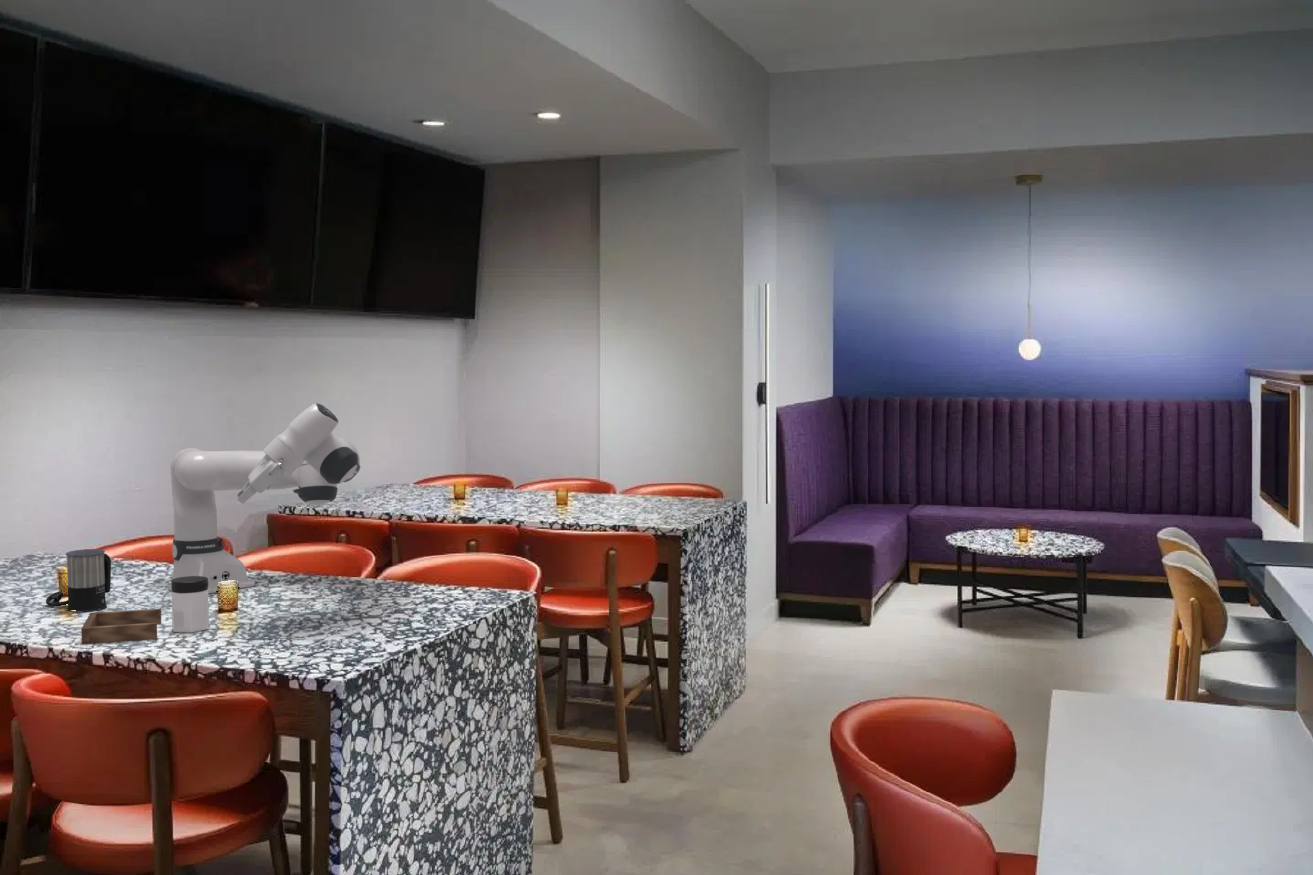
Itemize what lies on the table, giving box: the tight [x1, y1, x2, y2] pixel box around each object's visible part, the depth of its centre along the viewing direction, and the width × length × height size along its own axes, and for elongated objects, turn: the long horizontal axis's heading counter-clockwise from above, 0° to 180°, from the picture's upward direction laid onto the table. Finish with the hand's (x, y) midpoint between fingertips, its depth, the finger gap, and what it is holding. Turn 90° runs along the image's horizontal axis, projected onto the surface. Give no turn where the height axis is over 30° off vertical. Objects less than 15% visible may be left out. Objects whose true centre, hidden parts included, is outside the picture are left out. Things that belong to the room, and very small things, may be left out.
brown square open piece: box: [80, 608, 162, 645], centre depth 268 cm, size 16×17×4 cm
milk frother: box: [45, 548, 112, 612], centre depth 294 cm, size 14×16×15 cm
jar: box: [170, 576, 210, 634], centre depth 272 cm, size 9×8×12 cm
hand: (239, 499), depth 275 cm, fingers open, 8 cm apart
